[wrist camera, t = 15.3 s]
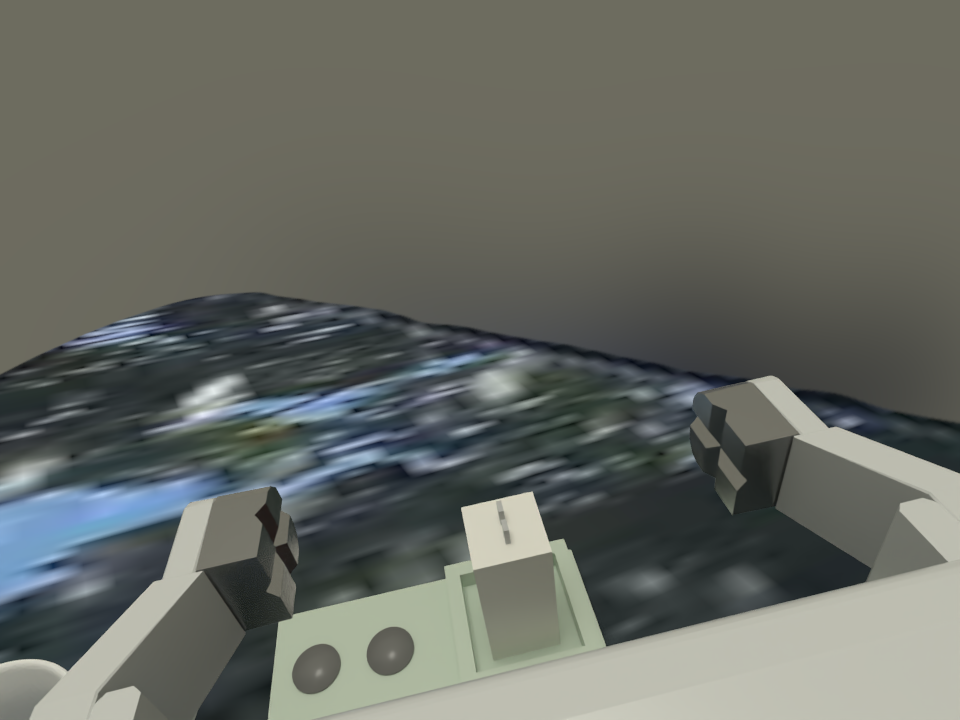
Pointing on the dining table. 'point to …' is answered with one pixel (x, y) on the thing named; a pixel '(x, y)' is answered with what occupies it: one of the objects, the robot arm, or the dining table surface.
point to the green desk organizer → (410, 643)
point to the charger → (513, 574)
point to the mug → (26, 686)
